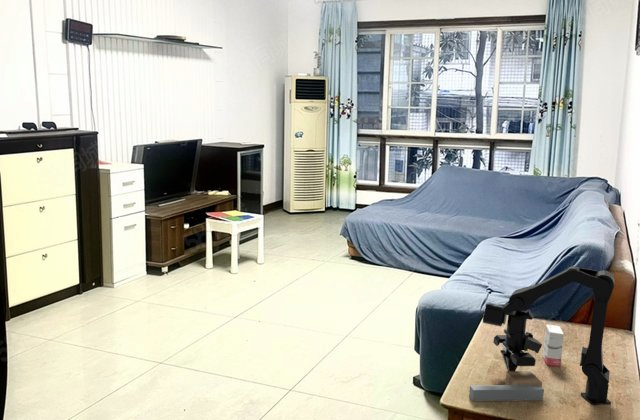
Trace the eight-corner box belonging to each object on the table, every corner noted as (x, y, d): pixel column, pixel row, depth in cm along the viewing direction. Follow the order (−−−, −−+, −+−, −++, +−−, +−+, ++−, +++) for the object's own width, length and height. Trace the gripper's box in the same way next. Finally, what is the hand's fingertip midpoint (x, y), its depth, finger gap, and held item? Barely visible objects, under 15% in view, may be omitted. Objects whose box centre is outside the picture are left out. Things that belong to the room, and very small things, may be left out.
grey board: (542, 400, 183) (543, 389, 183) (472, 401, 181) (473, 390, 180) (538, 395, 186) (539, 384, 186) (469, 396, 184) (470, 385, 183)
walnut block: (540, 396, 186) (542, 382, 186) (515, 396, 185) (517, 382, 185) (529, 384, 194) (530, 371, 193) (505, 384, 193) (506, 371, 193)
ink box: (560, 366, 208) (564, 334, 206) (545, 365, 209) (549, 332, 207) (556, 356, 216) (560, 325, 214) (542, 355, 217) (545, 323, 215)
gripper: (554, 340, 185) (548, 388, 188) (526, 318, 203) (521, 362, 206) (519, 340, 184) (514, 388, 186) (495, 318, 202) (490, 362, 205)
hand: (510, 374), depth 196 cm, fingers closed
